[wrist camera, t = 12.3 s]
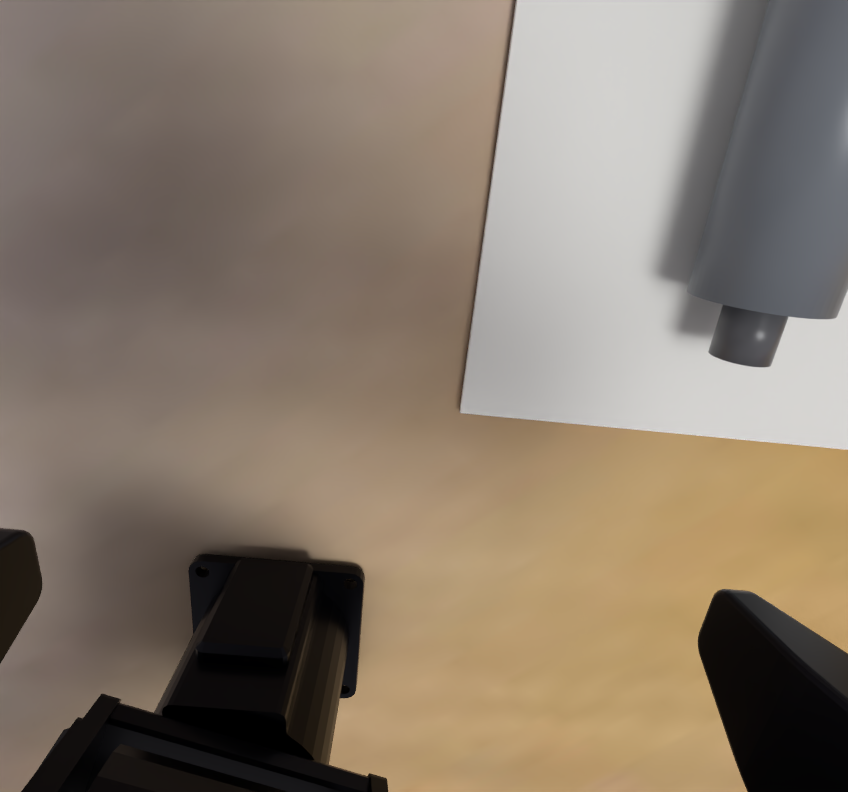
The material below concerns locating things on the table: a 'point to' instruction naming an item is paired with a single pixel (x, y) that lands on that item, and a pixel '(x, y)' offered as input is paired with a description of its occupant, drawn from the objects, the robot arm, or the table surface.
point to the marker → (781, 187)
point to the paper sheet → (628, 234)
